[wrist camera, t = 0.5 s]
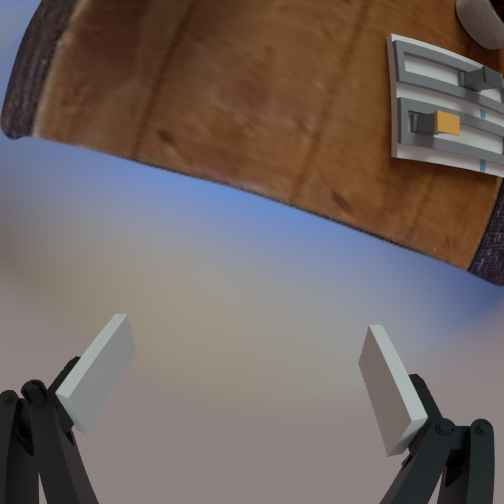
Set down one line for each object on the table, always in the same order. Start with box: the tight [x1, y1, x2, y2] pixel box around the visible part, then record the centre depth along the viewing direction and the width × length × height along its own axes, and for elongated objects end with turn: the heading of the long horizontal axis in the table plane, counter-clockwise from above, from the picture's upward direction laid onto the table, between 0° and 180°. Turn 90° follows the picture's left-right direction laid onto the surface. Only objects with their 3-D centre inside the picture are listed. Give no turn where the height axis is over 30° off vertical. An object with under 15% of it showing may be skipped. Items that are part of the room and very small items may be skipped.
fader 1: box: [411, 110, 460, 136], centre depth 28 cm, size 2×4×6 cm, turn 90°
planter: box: [456, 0, 504, 50], centre depth 20 cm, size 11×11×10 cm
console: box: [386, 34, 504, 177], centre depth 29 cm, size 18×22×3 cm
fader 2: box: [458, 66, 503, 93], centre depth 24 cm, size 2×4×6 cm, turn 90°
